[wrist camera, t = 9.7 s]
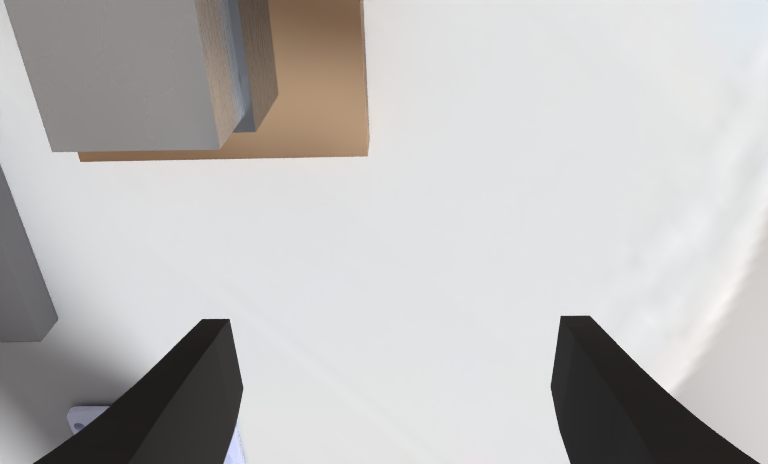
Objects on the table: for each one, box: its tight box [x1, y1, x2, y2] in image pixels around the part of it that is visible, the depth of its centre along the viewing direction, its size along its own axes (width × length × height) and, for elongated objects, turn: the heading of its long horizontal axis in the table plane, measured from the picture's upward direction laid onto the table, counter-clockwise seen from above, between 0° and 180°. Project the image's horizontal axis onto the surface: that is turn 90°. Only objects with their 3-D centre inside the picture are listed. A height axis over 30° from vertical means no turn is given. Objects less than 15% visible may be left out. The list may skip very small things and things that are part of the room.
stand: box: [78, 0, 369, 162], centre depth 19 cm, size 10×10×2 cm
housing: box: [4, 0, 279, 152], centre depth 15 cm, size 6×4×6 cm
